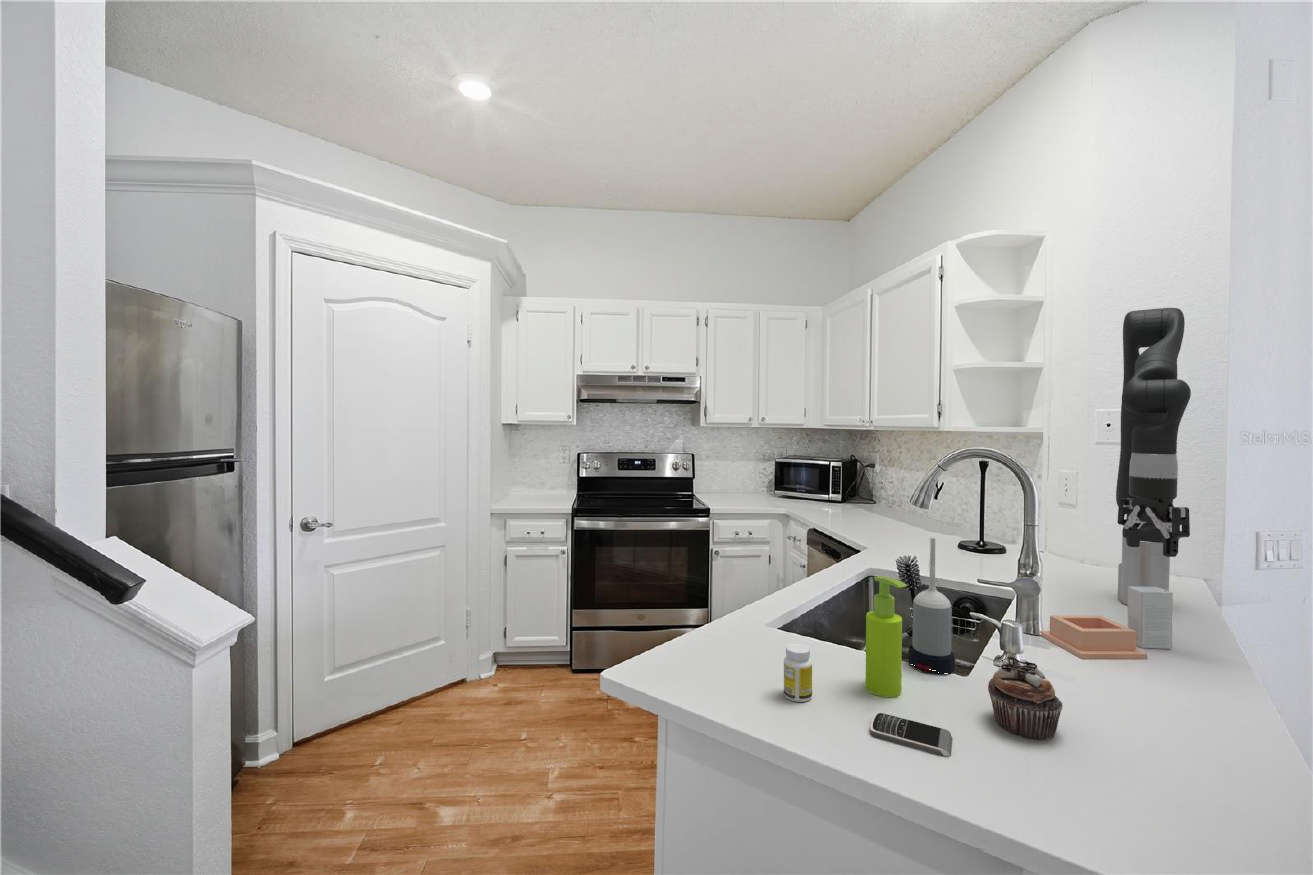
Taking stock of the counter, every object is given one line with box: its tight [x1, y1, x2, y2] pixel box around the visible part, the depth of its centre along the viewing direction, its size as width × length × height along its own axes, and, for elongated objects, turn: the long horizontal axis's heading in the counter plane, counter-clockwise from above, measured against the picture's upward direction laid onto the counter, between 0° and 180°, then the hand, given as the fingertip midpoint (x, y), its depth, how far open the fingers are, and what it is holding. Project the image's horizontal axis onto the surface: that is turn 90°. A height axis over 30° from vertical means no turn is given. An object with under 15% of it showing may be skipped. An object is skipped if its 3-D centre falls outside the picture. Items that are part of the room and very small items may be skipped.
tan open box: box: [1039, 615, 1148, 660], centre depth 115 cm, size 12×13×5 cm
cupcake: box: [987, 656, 1064, 741], centre depth 86 cm, size 10×10×10 cm
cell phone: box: [870, 712, 954, 757], centre depth 83 cm, size 6×11×1 cm, turn 59°
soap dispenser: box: [864, 575, 908, 698], centre depth 96 cm, size 6×7×20 cm
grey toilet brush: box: [907, 537, 956, 676], centre depth 106 cm, size 8×8×25 cm
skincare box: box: [1127, 586, 1174, 650], centre depth 116 cm, size 6×4×12 cm
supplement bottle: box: [783, 643, 813, 703], centre depth 95 cm, size 5×5×8 cm
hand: (1150, 551), depth 116 cm, fingers open, 8 cm apart
